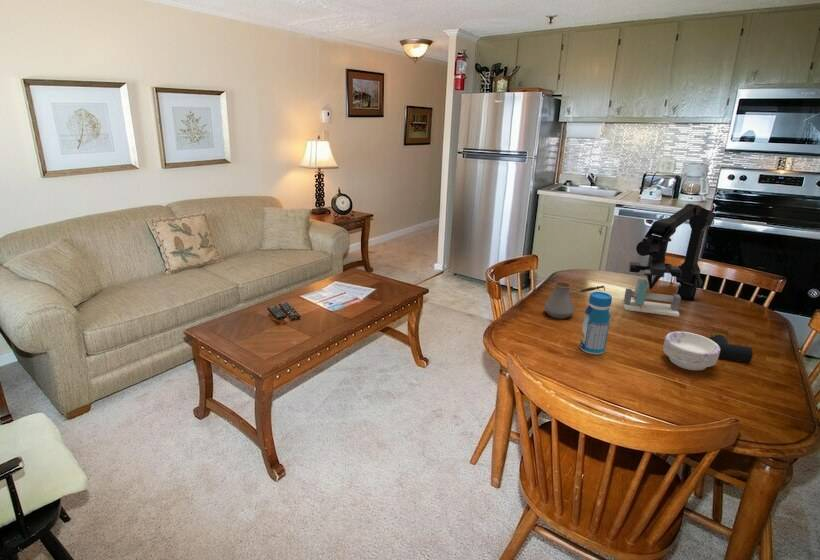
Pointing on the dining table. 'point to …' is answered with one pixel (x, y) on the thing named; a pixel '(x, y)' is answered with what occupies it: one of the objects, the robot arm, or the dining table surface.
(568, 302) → the coffee pot
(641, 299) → the sleeve collar
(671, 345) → the paper bowls
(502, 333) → the dining table surface
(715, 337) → the pipe connector
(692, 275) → the robot arm
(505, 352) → the dining table surface
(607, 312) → the beverage bottle
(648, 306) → the pipe rig
